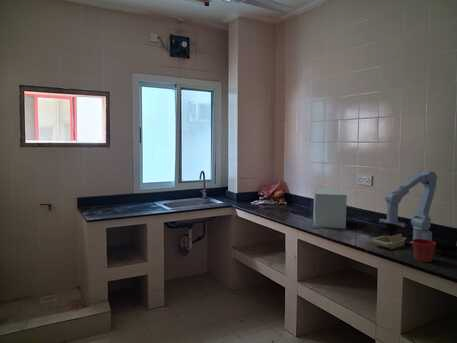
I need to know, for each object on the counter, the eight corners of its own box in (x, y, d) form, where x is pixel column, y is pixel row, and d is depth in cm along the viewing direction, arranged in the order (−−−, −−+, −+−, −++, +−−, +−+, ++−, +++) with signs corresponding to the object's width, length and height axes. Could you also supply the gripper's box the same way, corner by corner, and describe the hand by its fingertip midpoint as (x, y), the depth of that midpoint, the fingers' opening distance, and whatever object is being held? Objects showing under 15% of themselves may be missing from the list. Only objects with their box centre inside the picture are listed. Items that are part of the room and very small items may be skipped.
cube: (313, 219, 270) (314, 189, 268) (341, 221, 265) (342, 190, 263) (314, 227, 245) (315, 193, 243) (345, 229, 241) (346, 195, 239)
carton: (407, 244, 204) (408, 238, 204) (387, 250, 192) (388, 244, 191) (390, 239, 213) (390, 234, 213) (370, 245, 201) (370, 240, 200)
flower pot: (409, 255, 184) (409, 237, 183) (431, 257, 181) (432, 239, 180) (413, 261, 174) (414, 243, 173) (437, 264, 171) (439, 245, 170)
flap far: (380, 236, 213) (380, 236, 213) (369, 239, 206) (369, 240, 206) (386, 235, 210) (386, 236, 210) (375, 238, 203) (375, 239, 203)
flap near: (403, 239, 202) (403, 239, 201) (392, 243, 195) (392, 243, 194) (400, 233, 203) (400, 233, 203) (389, 236, 196) (389, 236, 196)
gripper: (377, 212, 204) (376, 234, 205) (401, 216, 192) (399, 240, 193) (383, 211, 208) (382, 232, 209) (407, 215, 196) (406, 238, 197)
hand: (391, 236), depth 201 cm, fingers closed
